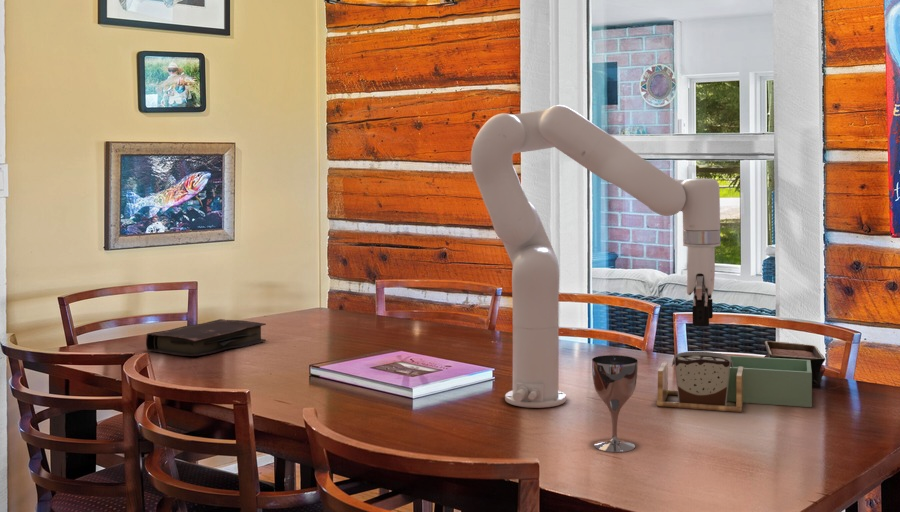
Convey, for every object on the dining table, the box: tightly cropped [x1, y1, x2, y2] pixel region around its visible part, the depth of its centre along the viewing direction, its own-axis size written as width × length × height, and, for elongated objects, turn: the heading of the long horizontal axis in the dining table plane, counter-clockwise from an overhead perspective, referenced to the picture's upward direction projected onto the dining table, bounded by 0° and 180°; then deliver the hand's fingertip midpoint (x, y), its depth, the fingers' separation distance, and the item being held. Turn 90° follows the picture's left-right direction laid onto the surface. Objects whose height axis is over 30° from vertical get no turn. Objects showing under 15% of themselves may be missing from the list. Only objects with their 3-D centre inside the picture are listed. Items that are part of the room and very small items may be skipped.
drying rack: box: [656, 361, 744, 413], centre depth 198 cm, size 11×17×7 cm, turn 74°
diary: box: [145, 318, 267, 357], centre depth 255 cm, size 19×25×5 cm
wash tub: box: [726, 354, 813, 408], centre depth 203 cm, size 13×18×7 cm
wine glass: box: [591, 354, 639, 453], centre depth 169 cm, size 8×8×15 cm
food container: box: [671, 351, 733, 406], centre depth 198 cm, size 12×6×10 cm, turn 84°
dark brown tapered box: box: [764, 340, 826, 388], centre depth 218 cm, size 14×18×10 cm
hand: (702, 321), depth 198 cm, fingers open, 9 cm apart
